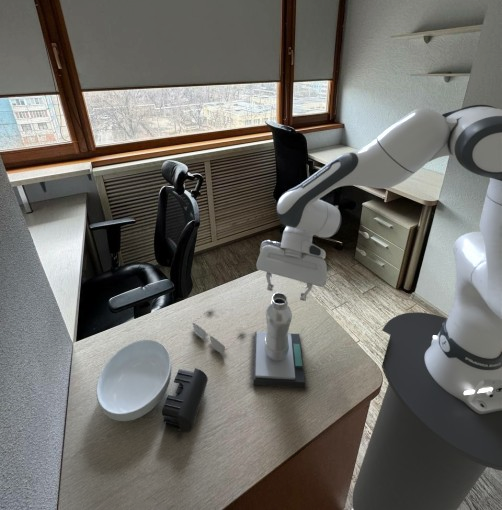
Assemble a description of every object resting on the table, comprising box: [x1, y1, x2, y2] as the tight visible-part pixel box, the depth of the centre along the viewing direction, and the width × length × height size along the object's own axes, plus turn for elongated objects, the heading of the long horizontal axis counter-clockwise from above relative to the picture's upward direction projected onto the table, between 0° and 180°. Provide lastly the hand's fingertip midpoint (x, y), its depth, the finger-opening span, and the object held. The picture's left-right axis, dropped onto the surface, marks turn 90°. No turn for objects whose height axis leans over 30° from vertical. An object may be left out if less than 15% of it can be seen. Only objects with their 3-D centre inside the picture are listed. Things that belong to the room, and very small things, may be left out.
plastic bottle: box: [264, 292, 293, 361], centre depth 69 cm, size 6×7×20 cm
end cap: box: [161, 367, 209, 433], centre depth 63 cm, size 10×7×7 cm
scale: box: [252, 331, 306, 389], centre depth 74 cm, size 13×13×3 cm
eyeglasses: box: [191, 311, 243, 355], centre depth 81 cm, size 14×8×4 cm, turn 54°
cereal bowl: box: [95, 339, 173, 422], centre depth 66 cm, size 17×17×7 cm
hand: (285, 295), depth 75 cm, fingers open, 8 cm apart
